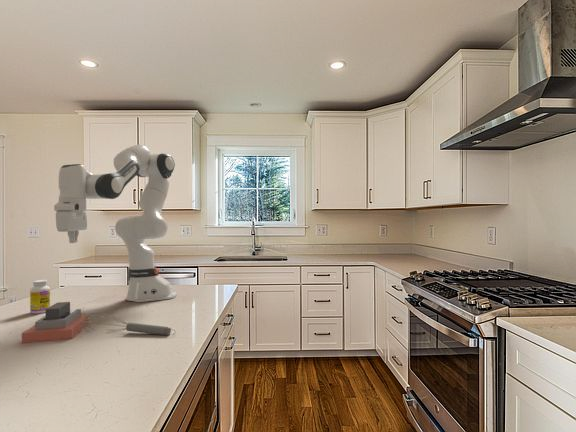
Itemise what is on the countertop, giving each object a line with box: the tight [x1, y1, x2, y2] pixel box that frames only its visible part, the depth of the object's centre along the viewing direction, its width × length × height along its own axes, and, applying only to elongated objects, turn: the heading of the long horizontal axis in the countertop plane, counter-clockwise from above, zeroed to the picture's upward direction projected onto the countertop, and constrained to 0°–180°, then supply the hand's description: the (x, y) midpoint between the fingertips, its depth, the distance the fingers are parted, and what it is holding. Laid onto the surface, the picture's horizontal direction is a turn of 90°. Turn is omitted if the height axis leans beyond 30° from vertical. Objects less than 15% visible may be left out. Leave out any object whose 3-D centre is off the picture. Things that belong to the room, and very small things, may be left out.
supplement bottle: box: [29, 279, 51, 315], centre depth 142 cm, size 7×7×13 cm
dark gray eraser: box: [45, 301, 71, 320], centre depth 116 cm, size 4×9×6 cm, turn 13°
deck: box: [21, 308, 90, 344], centre depth 116 cm, size 14×16×6 cm
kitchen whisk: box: [82, 312, 176, 336], centre depth 115 cm, size 6×34×6 cm, turn 80°
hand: (73, 242), depth 130 cm, fingers closed
